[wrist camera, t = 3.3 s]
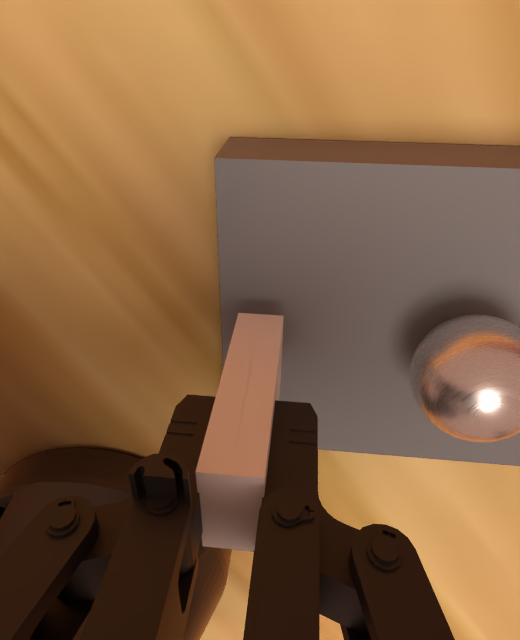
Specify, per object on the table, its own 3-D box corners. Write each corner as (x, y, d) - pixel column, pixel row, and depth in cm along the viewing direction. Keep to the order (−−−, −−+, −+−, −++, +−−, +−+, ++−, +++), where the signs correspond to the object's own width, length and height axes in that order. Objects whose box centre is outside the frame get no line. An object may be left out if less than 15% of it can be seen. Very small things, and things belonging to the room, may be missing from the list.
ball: (393, 381, 18) (410, 464, 15) (412, 288, 16) (438, 361, 12) (502, 388, 18) (546, 476, 14) (537, 295, 15) (598, 371, 12)
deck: (236, 395, 23) (225, 441, 21) (230, 137, 17) (214, 157, 14) (672, 428, 22) (719, 482, 19) (852, 156, 15) (959, 184, 13)
